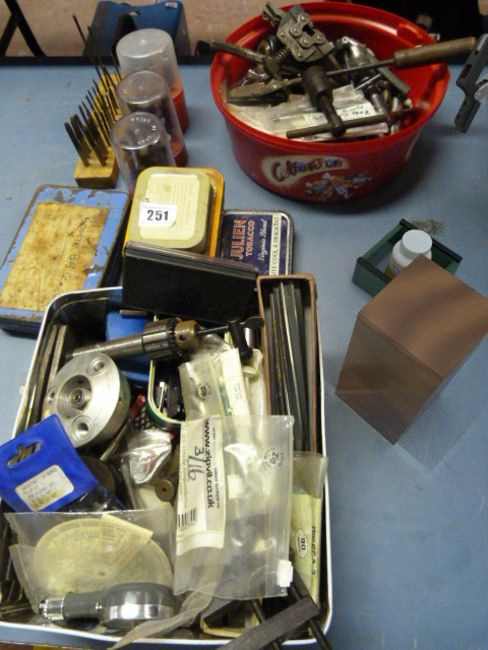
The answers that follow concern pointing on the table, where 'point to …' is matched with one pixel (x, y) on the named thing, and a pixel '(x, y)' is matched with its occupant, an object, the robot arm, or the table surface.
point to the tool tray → (365, 265)
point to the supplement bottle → (408, 251)
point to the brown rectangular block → (410, 346)
